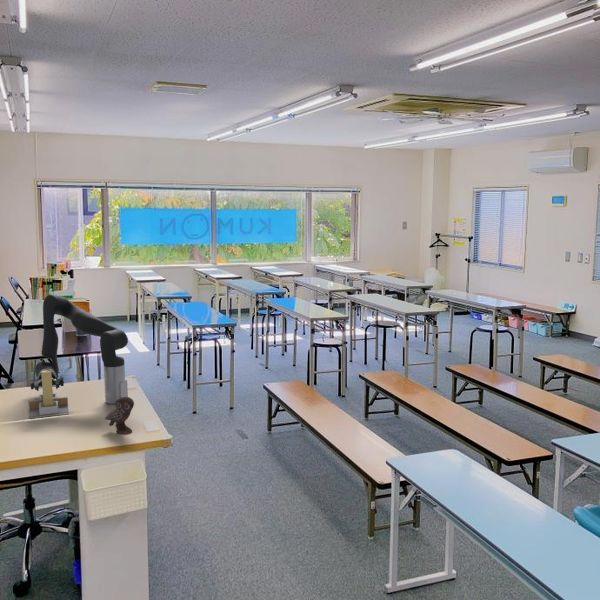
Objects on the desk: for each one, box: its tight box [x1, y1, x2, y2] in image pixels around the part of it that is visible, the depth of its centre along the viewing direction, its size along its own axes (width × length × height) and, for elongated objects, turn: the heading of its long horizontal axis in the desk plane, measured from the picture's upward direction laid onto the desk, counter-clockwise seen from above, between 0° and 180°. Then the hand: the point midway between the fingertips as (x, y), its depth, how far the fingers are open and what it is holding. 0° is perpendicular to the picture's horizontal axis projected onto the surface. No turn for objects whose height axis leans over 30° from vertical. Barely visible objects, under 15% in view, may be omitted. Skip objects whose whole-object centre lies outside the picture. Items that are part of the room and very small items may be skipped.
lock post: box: [41, 370, 54, 407], centre depth 274 cm, size 4×4×18 cm
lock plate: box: [28, 392, 70, 420], centre depth 281 cm, size 24×16×4 cm, turn 22°
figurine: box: [104, 396, 135, 435], centre depth 251 cm, size 13×6×15 cm, turn 65°
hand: (47, 387), depth 271 cm, fingers open, 7 cm apart
